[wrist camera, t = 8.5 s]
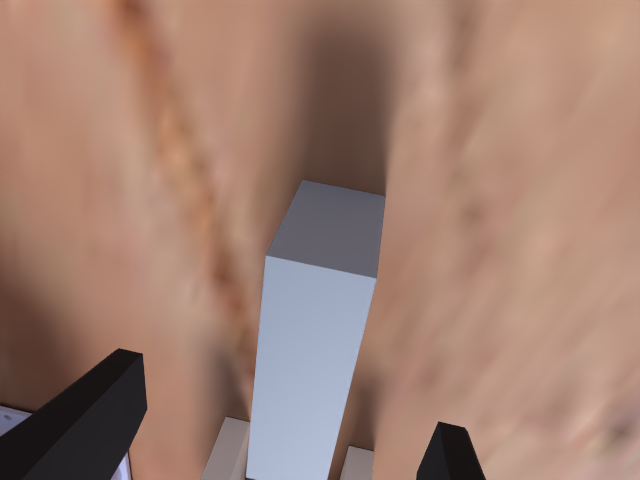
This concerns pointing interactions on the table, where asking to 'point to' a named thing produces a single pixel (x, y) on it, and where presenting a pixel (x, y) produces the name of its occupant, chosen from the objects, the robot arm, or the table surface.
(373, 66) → the table surface
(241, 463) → the white u-shaped channel
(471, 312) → the table surface
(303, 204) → the tall pale blue pillar
